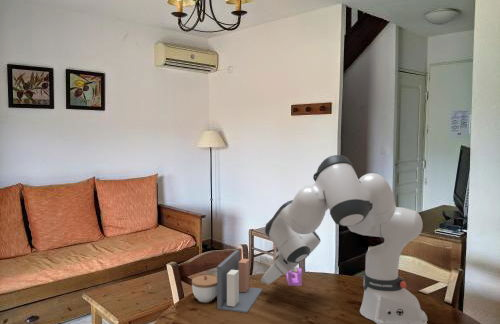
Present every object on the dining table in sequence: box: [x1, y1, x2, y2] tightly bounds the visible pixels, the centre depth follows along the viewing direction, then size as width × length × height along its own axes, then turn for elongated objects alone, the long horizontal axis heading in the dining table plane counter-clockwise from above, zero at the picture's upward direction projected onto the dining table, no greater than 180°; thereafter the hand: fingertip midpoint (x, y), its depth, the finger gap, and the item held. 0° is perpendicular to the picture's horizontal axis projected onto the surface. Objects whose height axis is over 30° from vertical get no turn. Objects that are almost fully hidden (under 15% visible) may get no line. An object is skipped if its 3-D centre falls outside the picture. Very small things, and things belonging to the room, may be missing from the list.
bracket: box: [285, 267, 303, 287], centre depth 177 cm, size 13×6×7 cm, turn 0°
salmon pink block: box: [239, 258, 250, 292], centre depth 163 cm, size 3×5×12 cm, turn 164°
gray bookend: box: [216, 249, 263, 314], centre depth 156 cm, size 12×22×16 cm, turn 164°
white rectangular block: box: [227, 270, 239, 307], centre depth 149 cm, size 3×5×12 cm, turn 164°
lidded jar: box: [191, 274, 217, 303], centre depth 156 cm, size 11×11×9 cm
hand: (262, 280), depth 161 cm, fingers closed
